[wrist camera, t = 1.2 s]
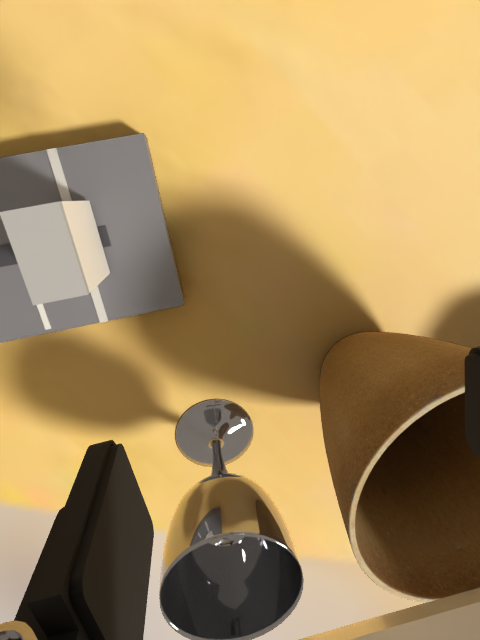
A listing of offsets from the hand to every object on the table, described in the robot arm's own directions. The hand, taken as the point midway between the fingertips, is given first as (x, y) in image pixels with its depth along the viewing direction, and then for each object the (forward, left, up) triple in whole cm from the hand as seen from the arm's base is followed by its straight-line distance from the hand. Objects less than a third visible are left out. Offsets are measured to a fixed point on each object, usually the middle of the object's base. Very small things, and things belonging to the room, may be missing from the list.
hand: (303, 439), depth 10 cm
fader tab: (-5, -10, -20) cm, 22 cm away
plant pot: (+11, +10, -22) cm, 27 cm away
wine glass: (+14, -4, -22) cm, 27 cm away
